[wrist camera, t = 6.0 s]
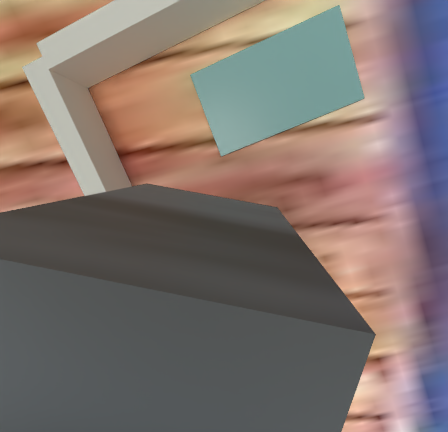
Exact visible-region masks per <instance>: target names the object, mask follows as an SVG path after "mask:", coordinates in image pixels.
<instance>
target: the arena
mask: <svg viewBox="0 0 448 432" xmlns="http://www.w3.org/2000/svg"><path fill="white" fill-rule="evenodd" d="M263 1H265V0H114V1H112V2H110V3H109V4H107V5H105V6H103V7H101V8H100V9H98V10H96V11H94V12H92V13H90V14H89V15H87V16H85V17H83V18H81V19H80V20H78V21H76V22H74V23H72V24H70V25H69V26H67V27H65V28H63V29H61V30H59V31H58V32H56V33H54V34H52V35H50V36H49V37H47V38H45V39H43V40H41V41H39V42H38V43H36V44H37V46H38V48H39V50H40V52H41V54H42V57H40V58H38V59H37V60H35V61H33V62H31V63H29V64H27V65H25V66H23V67H22V68H23V70H24V72H25V74H26V76H27V78H28V80H29V82H30V85H31V87H32V89H33V91H34V93H35V95H36V97H37V99H38V101H39V103H40V105H41V107H42V109H43V111H44V113H45V115H46V117H47V119H48V122H49V124H50V126H51V128H52V130H53V132H54V134H55V136H56V138H57V140H58V142H59V144H60V146H61V148H62V150H63V152H64V154H65V157H66V159H67V161H68V163H69V165H70V167H71V169H72V171H73V173H74V175H75V177H76V179H77V181H78V183H79V185H80V187H81V189H82V191H83V194H84V196H87V195H92V194H97V193H102V192H107V191H112V190H117V189H122V188H127V187H132V185H131V183H130V181H129V179H128V176H127V174H126V172H125V170H124V167H123V165H122V163H121V161H120V158H119V156H118V154H117V152H116V150H115V147H114V145H113V143H112V141H111V138H110V136H109V134H108V132H107V130H106V127H105V125H104V123H103V121H102V118H101V116H100V114H99V112H98V110H97V107H96V105H95V103H94V101H93V98H92V96H91V94H90V92H89V90H88V88H89V87H91V86H93V85H96V84H98V83H100V82H102V81H104V80H106V79H108V78H110V77H112V76H114V75H116V74H118V73H120V72H122V71H124V70H126V69H128V68H130V67H132V66H134V65H136V64H138V63H140V62H142V61H144V60H146V59H148V58H150V57H152V56H154V55H156V54H158V53H160V52H162V51H164V50H166V49H168V48H170V47H172V46H174V45H176V44H178V43H180V42H182V41H184V40H186V39H188V38H190V37H192V36H194V35H196V34H198V33H201V32H203V31H205V30H207V29H209V28H211V27H213V26H215V25H217V24H219V23H221V22H223V21H225V20H227V19H229V18H231V17H233V16H235V15H237V14H239V13H241V12H243V11H245V10H247V9H249V8H251V7H253V6H255V5H257V4H259V3H261V2H263Z"/></svg>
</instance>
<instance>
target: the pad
mask: <svg viewBox="0 0 448 432" xmlns="http://www.w3.org/2000/svg"><path fill="white" fill-rule="evenodd" d="M190 76H191V78H192V81H193V83H194V86H195V89H196V91H197V94H198V97H199V99H200V102H201V105H202V107H203V110H204V112H205V115H206V118H207V120H208V123H209V126H210V128H211V131H212V134H213V136H214V139H215V141H216V144H217V147H218V149H219V152H220V155H221V156H224V155H226V154H229V153H231V152H234V151H236V150H239V149H241V148H244V147H246V146H248V145H251V144H253V143H256V142H258V141H261V140H263V139H266V138H268V137H271V136H273V135H276V134H278V133H280V132H283V131H285V130H288V129H290V128H293V127H295V126H298V125H300V124H303V123H305V122H308V121H310V120H313V119H315V118H317V117H320V116H322V115H325V114H327V113H330V112H332V111H335V110H337V109H340V108H342V107H345V106H347V105H350V104H352V103H354V102H357V101H359V100H362V99H364V94H363V91H362V87H361V83H360V80H359V76H358V72H357V69H356V65H355V61H354V57H353V54H352V50H351V46H350V43H349V39H348V35H347V32H346V28H345V24H344V21H343V17H342V13H341V9H340V6H339V5H338V6H336V7H333V8H331V9H329V10H327V11H325V12H323V13H321V14H319V15H316V16H314V17H312V18H310V19H308V20H306V21H304V22H301V23H299V24H297V25H295V26H293V27H291V28H289V29H287V30H284V31H282V32H280V33H278V34H276V35H274V36H272V37H270V38H267V39H265V40H263V41H261V42H259V43H257V44H255V45H253V46H250V47H248V48H246V49H244V50H242V51H240V52H238V53H236V54H233V55H231V56H229V57H227V58H225V59H223V60H221V61H218V62H216V63H214V64H212V65H210V66H208V67H206V68H204V69H201V70H199V71H197V72H195V73H193V74H191V75H190Z"/></svg>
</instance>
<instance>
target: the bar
mask: <svg viewBox="0 0 448 432" xmlns="http://www.w3.org/2000/svg"><path fill="white" fill-rule="evenodd" d="M375 335H376V334H375V333H374V332H373V330H372V329H371V328H370V327H369V325H368V324H367V323H366V321H365V320H364V319H363V318H362V316H361V315H360V314H359V312H358V311H357V310H356V309H355V307H354V306H353V305H352V303H351V302H350V301H349V300H348V298H347V297H346V296H345V294H344V293H343V292H342V290H341V289H340V288H339V287H338V285H337V284H336V283H335V281H334V280H333V279H332V278H331V276H330V275H329V274H328V272H327V271H326V270H325V269H324V267H323V266H322V265H321V263H320V262H319V261H318V260H317V258H316V257H315V256H314V254H313V253H312V252H311V251H310V249H309V248H308V247H307V245H306V244H305V243H304V242H303V240H302V239H301V238H300V236H299V235H298V234H297V233H296V231H295V230H294V229H293V227H292V226H291V225H290V224H289V222H288V221H287V220H286V218H285V217H284V216H283V215H282V213H281V212H280V211H279V209H278V208H277V207H272V206H266V205H261V204H255V203H250V202H245V201H239V200H234V199H228V198H223V197H217V196H212V195H206V194H201V193H195V192H190V191H184V190H179V189H174V188H168V187H163V186H157V185H152V184H142V185H137V186H132V187H127V188H122V189H117V190H112V191H107V192H102V193H97V194H92V195H87V196H82V197H77V198H72V199H67V200H62V201H57V202H52V203H47V204H42V205H37V206H32V207H27V208H22V209H17V210H12V211H7V212H1V213H0V432H341V431H342V428H343V425H344V422H345V419H346V417H347V414H348V411H349V408H350V405H351V402H352V400H353V397H354V394H355V391H356V388H357V386H358V383H359V380H360V377H361V374H362V371H363V369H364V366H365V363H366V360H367V357H368V354H369V352H370V349H371V346H372V343H373V340H374V337H375Z"/></svg>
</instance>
